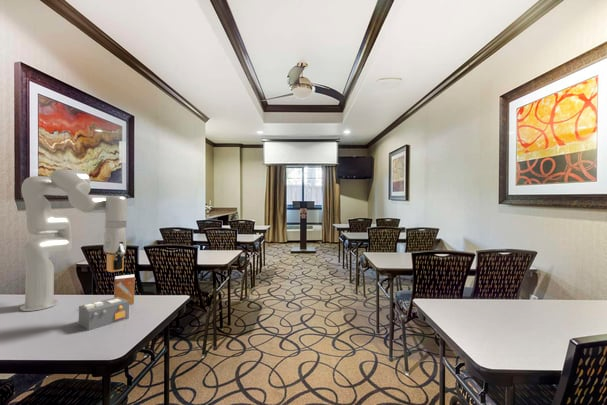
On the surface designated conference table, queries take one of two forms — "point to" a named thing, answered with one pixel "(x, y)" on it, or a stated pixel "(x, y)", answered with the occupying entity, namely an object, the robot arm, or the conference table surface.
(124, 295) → the small box
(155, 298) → the conference table surface
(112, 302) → the tagged breaker
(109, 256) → the cap
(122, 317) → the box
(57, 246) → the robot arm
